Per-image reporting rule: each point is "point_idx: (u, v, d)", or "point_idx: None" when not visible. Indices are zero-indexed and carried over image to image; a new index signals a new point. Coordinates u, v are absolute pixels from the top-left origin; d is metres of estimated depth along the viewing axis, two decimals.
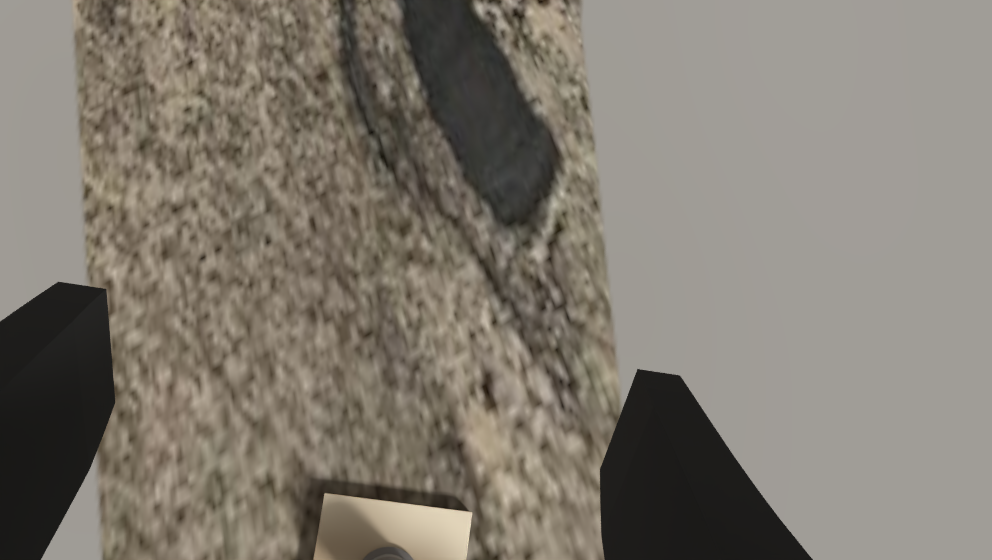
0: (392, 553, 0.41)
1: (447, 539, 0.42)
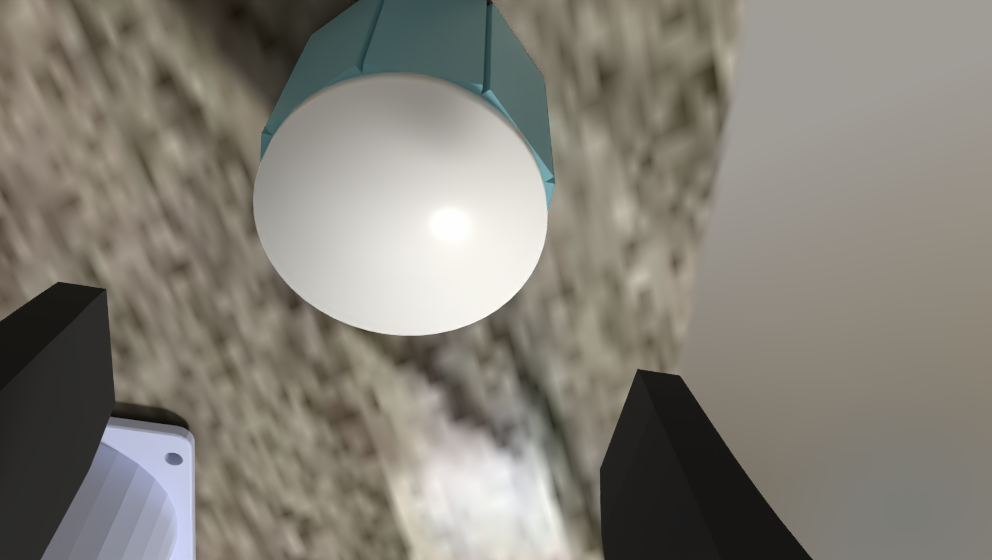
0: None
1: None
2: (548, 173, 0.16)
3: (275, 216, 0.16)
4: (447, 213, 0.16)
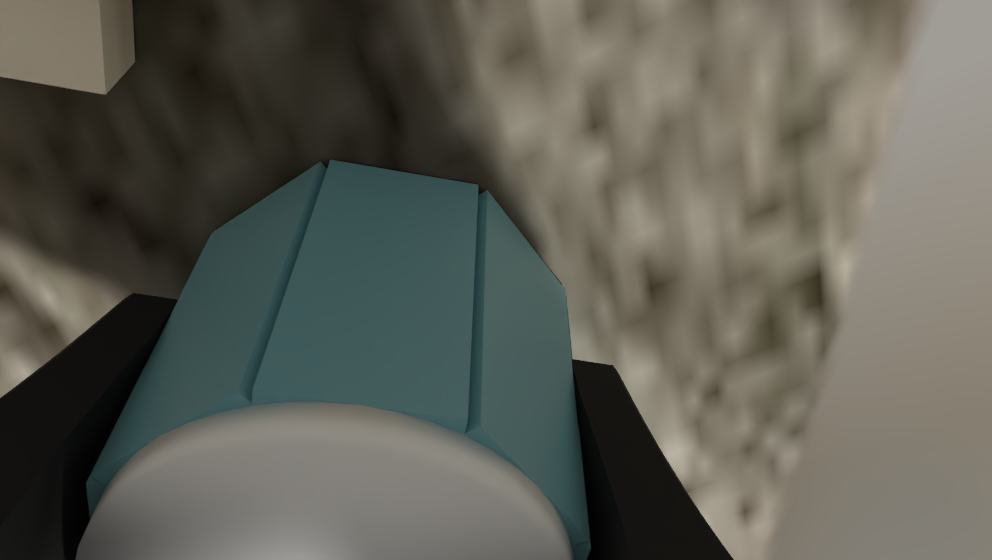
0: None
1: None
2: (580, 535, 0.09)
3: None
4: None
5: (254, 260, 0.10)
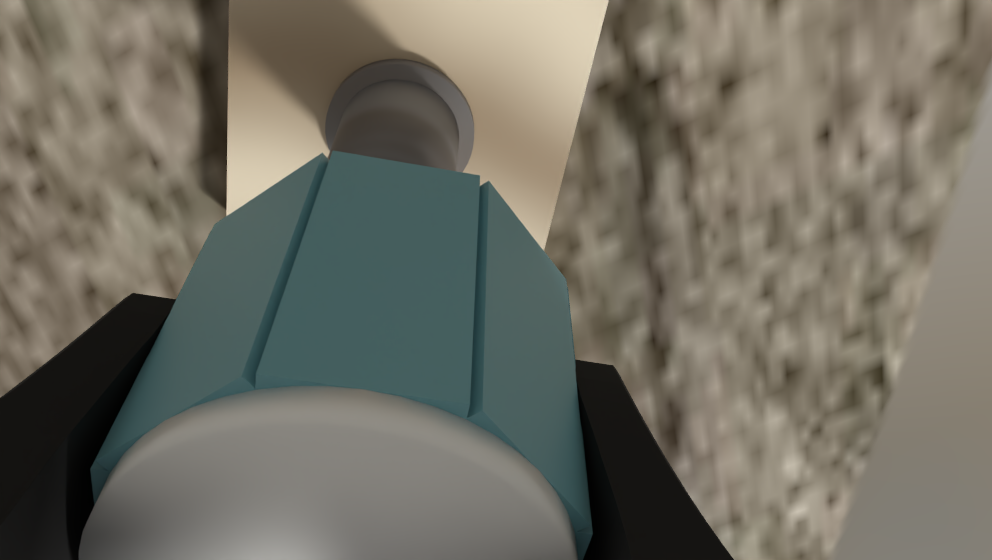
0: (408, 79, 0.17)
1: (542, 51, 0.17)
2: (581, 521, 0.09)
3: None
4: None
5: (257, 249, 0.11)
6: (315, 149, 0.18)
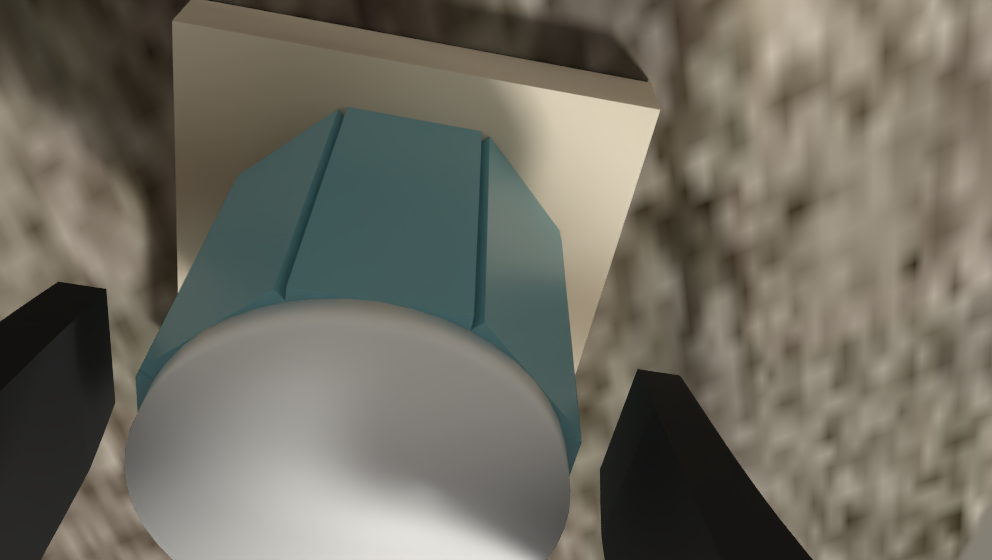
0: None
1: (571, 179, 0.14)
2: (572, 428, 0.10)
3: (160, 493, 0.10)
4: (419, 490, 0.10)
5: (281, 191, 0.12)
6: None
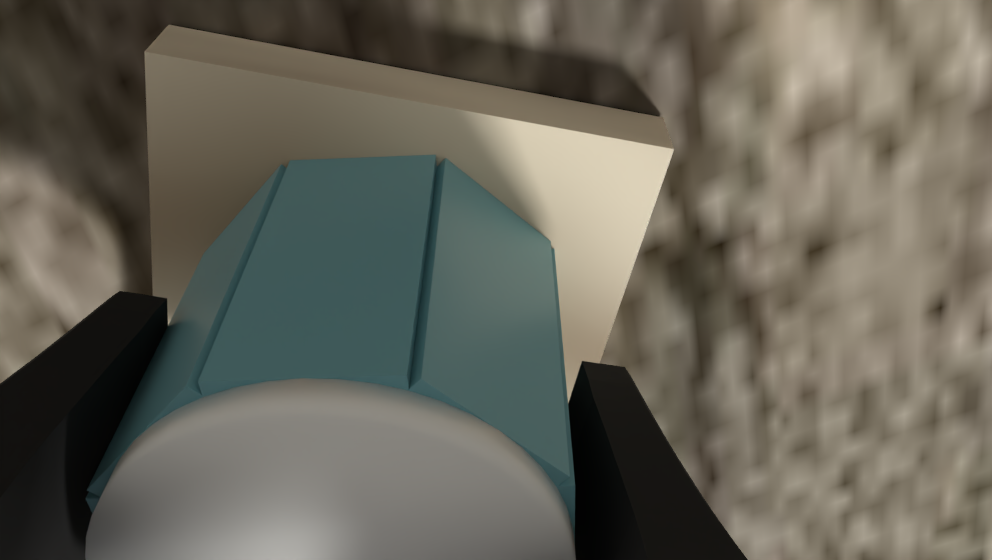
0: None
1: (577, 221, 0.13)
2: (395, 379, 0.08)
3: None
4: (355, 543, 0.09)
5: None
6: None
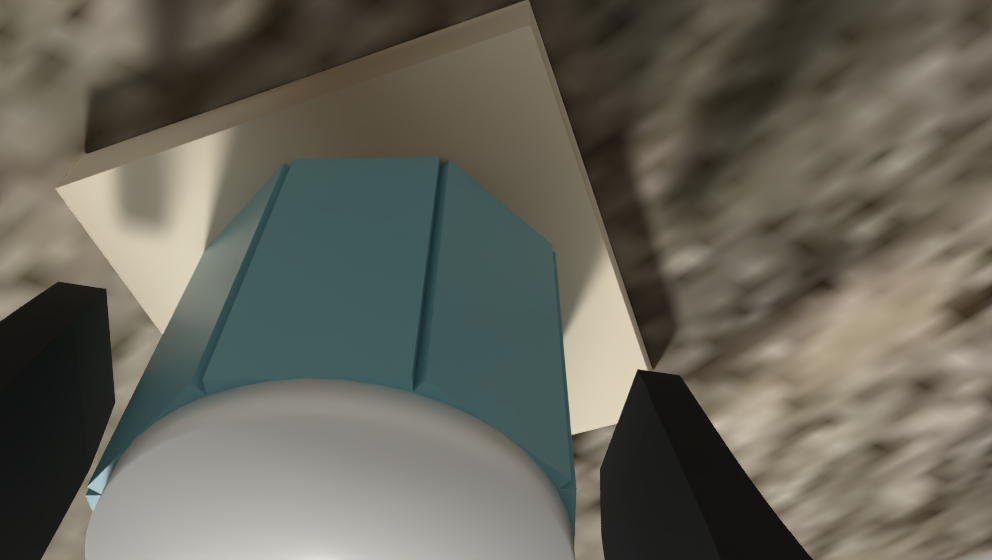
0: None
1: None
2: (399, 380, 0.08)
3: None
4: (355, 544, 0.09)
5: None
6: None
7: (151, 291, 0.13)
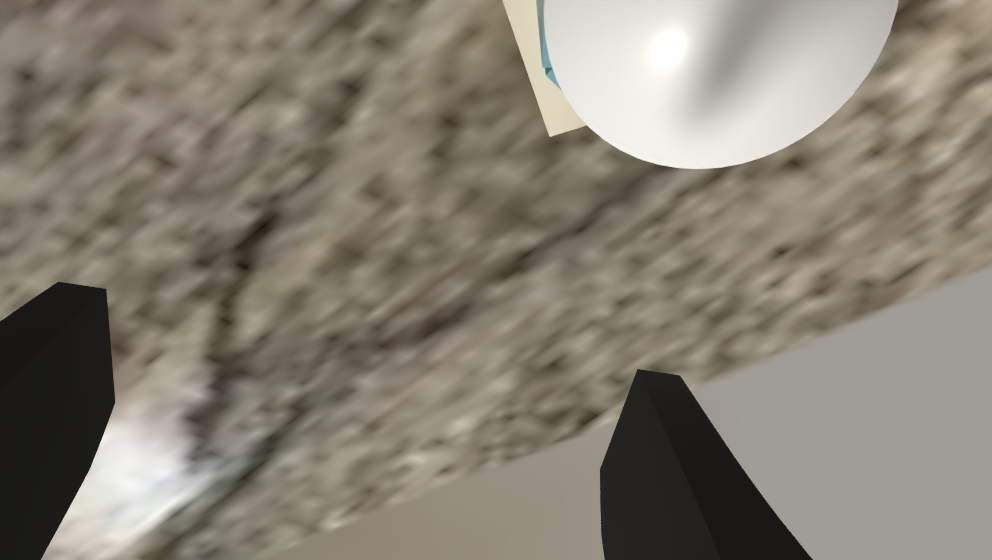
0: None
1: None
2: None
3: (622, 124, 0.14)
4: None
5: None
6: None
7: None
